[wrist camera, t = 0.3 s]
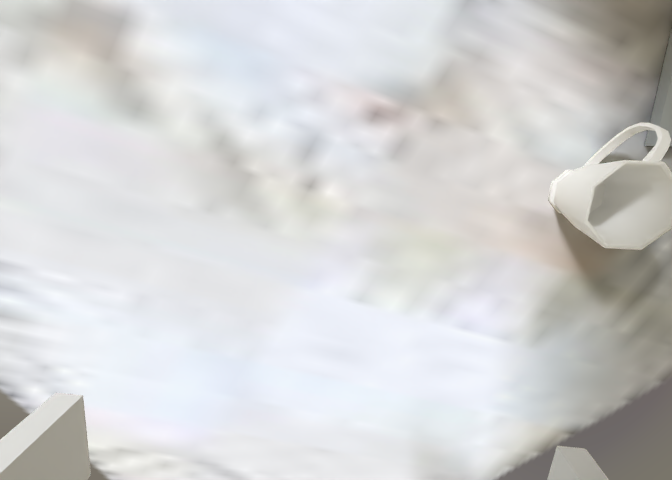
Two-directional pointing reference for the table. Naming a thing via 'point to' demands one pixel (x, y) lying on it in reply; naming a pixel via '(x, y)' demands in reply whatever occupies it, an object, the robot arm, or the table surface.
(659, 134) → the cup
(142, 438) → the table surface
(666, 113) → the build board
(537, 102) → the table surface
